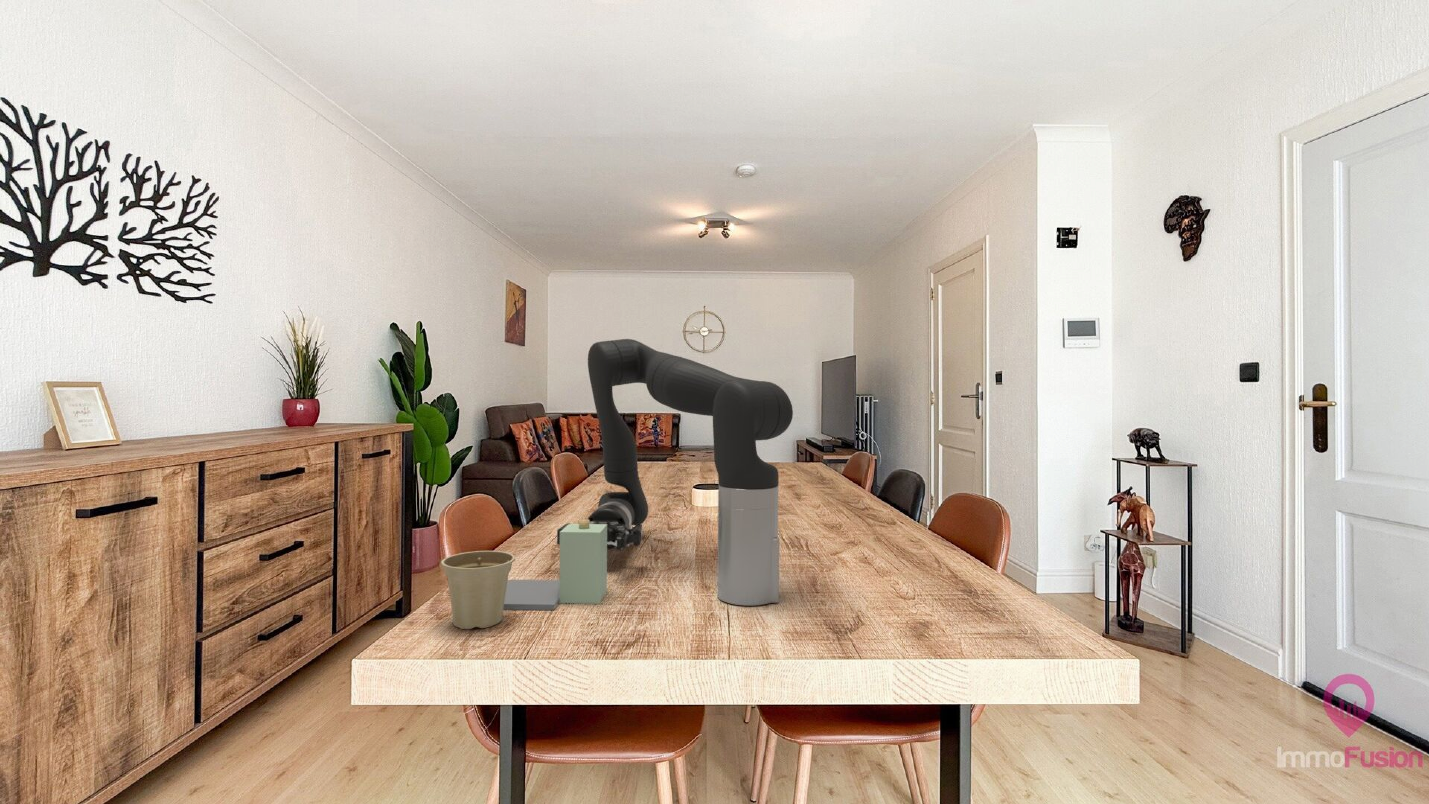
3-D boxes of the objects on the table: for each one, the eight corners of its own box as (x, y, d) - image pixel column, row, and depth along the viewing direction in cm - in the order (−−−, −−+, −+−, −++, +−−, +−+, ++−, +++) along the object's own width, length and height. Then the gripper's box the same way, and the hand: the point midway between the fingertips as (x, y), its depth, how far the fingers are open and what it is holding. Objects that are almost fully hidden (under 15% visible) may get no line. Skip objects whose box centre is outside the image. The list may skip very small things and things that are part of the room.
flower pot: (525, 611, 93) (525, 551, 92) (497, 636, 83) (497, 569, 83) (462, 609, 94) (462, 549, 93) (427, 633, 84) (427, 566, 84)
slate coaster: (572, 585, 105) (572, 580, 105) (554, 610, 93) (554, 604, 93) (498, 584, 105) (498, 579, 105) (470, 609, 93) (470, 603, 93)
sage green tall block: (606, 591, 102) (607, 516, 102) (599, 603, 96) (600, 524, 96) (568, 591, 102) (569, 516, 102) (559, 603, 96) (559, 524, 96)
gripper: (572, 503, 122) (549, 520, 106) (647, 504, 122) (636, 521, 106) (571, 543, 122) (549, 566, 106) (647, 544, 122) (636, 567, 106)
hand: (593, 544), depth 106 cm, fingers open, 8 cm apart
